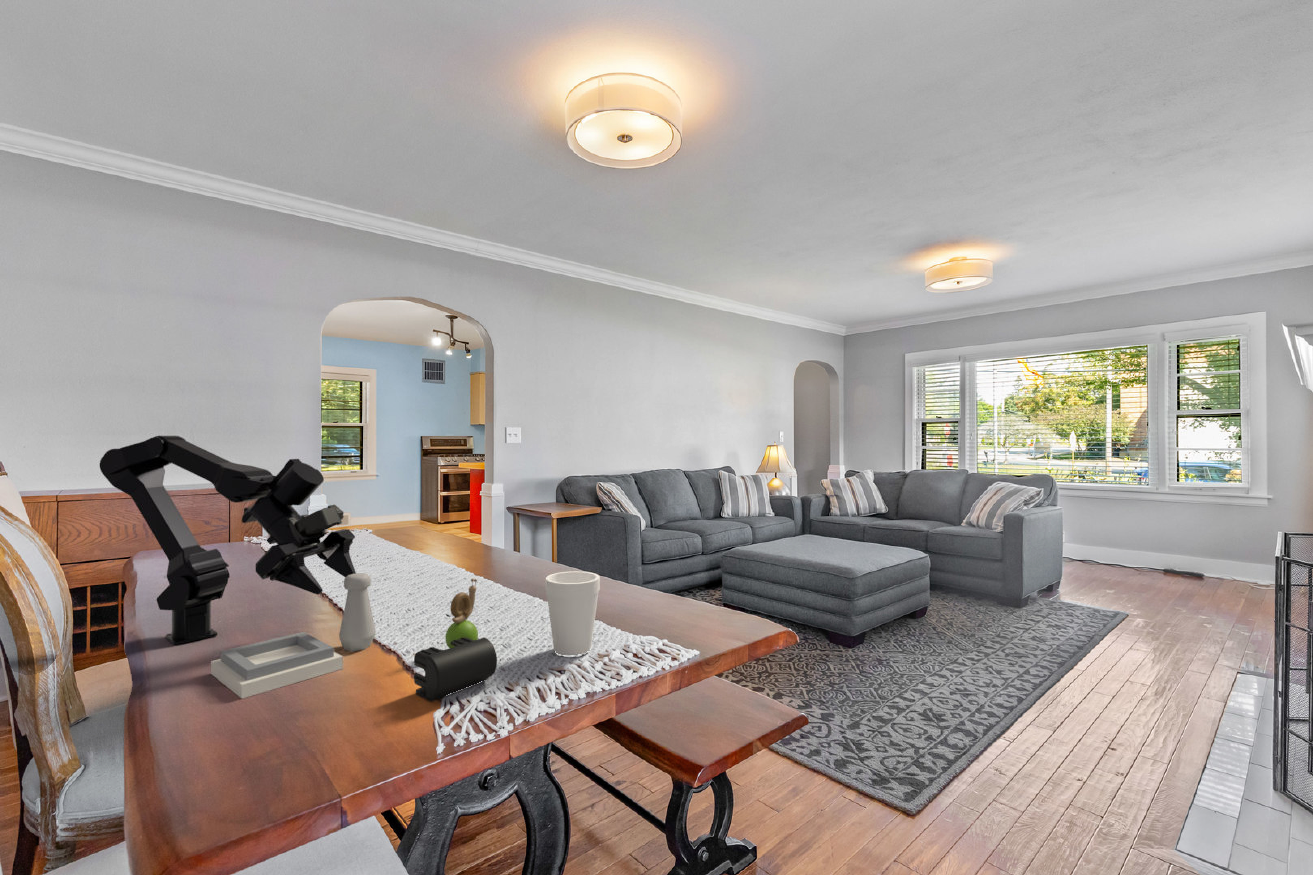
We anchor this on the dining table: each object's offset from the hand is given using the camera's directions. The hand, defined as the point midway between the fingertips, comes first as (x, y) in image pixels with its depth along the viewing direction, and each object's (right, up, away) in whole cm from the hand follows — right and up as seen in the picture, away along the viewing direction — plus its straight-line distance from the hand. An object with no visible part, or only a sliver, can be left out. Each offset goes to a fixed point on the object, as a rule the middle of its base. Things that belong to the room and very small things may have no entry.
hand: (338, 585), depth 106 cm
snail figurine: (+23, -11, -2) cm, 26 cm away
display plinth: (-4, -11, -11) cm, 16 cm away
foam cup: (+42, -11, -2) cm, 44 cm away
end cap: (+27, -11, -18) cm, 34 cm away
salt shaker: (+4, -11, 0) cm, 12 cm away
